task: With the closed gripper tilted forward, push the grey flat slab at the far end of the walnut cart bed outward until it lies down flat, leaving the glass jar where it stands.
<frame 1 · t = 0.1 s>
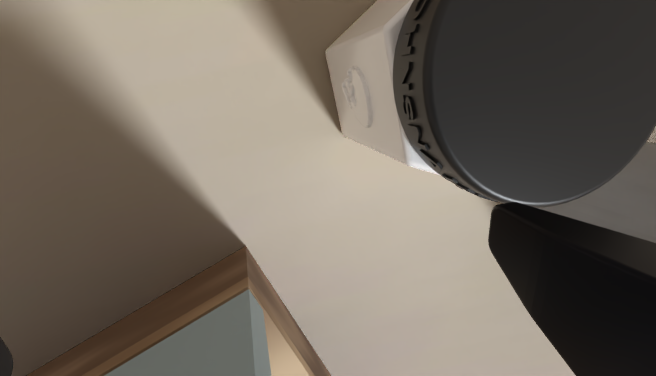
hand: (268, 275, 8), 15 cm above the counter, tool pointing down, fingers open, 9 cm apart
grey mug: (573, 236, 28), on the counter
jar: (400, 78, 24), on the counter
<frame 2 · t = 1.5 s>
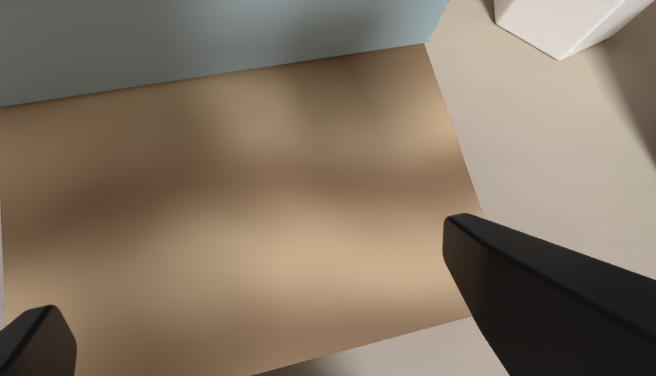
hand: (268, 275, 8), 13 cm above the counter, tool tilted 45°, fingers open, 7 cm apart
cart bed: (258, 220, 22), on the counter
jar: (547, 4, 28), on the counter
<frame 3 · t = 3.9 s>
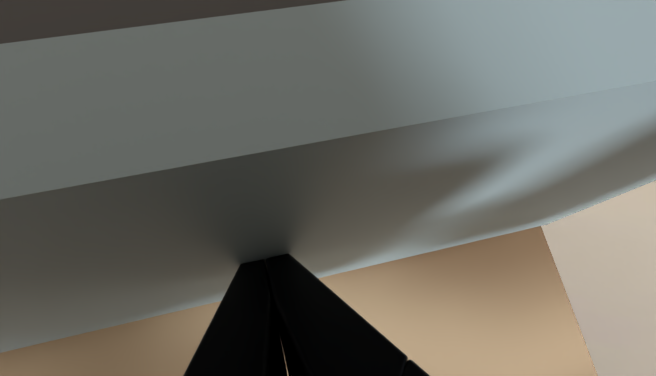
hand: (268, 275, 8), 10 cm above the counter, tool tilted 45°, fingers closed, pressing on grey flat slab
grey flat slab: (255, 210, 8), point 10 cm above the counter, hinge at 1.1°, touching gripper
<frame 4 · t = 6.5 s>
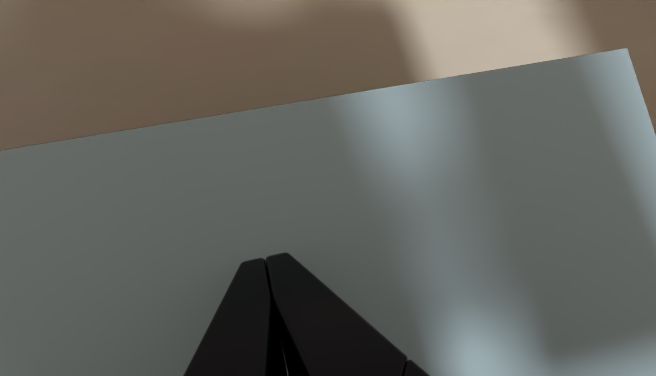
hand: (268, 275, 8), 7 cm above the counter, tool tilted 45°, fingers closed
grey flat slab: (286, 359, 9), point 6 cm above the counter, hinge at 81.6°
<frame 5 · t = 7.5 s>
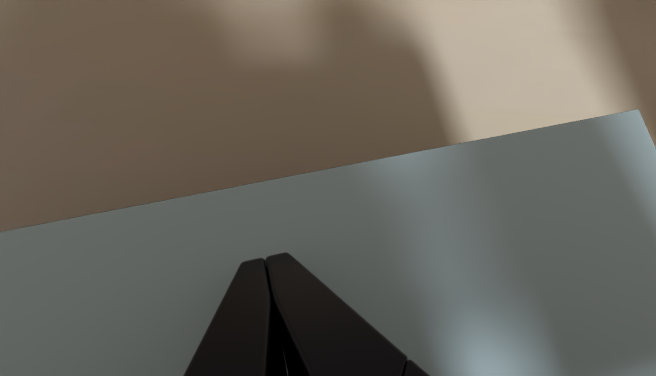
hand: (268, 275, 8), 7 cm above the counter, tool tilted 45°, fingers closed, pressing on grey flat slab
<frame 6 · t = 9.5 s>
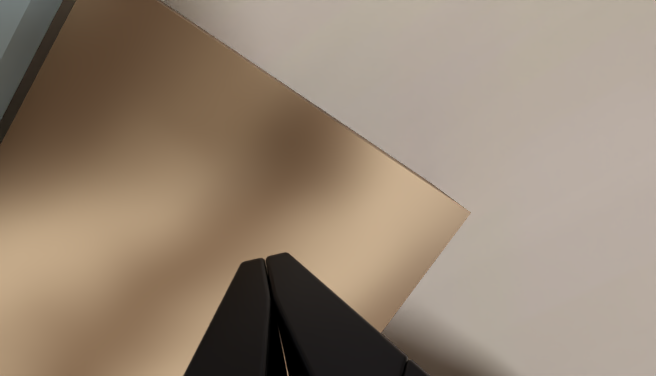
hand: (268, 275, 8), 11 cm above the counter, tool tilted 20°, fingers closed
cart bed: (191, 270, 19), on the counter
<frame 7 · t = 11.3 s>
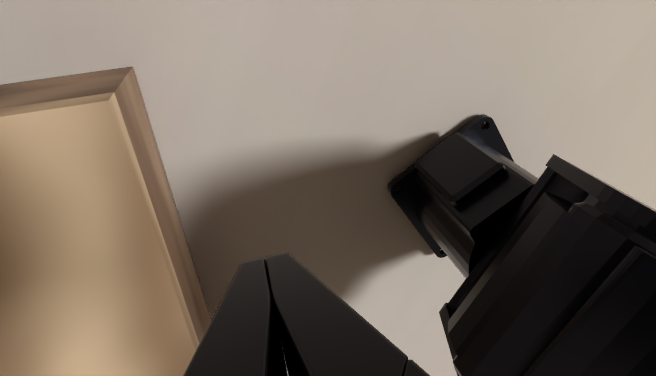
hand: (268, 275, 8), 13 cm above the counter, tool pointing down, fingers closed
cart bed: (50, 273, 21), on the counter
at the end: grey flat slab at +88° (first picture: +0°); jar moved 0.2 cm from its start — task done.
